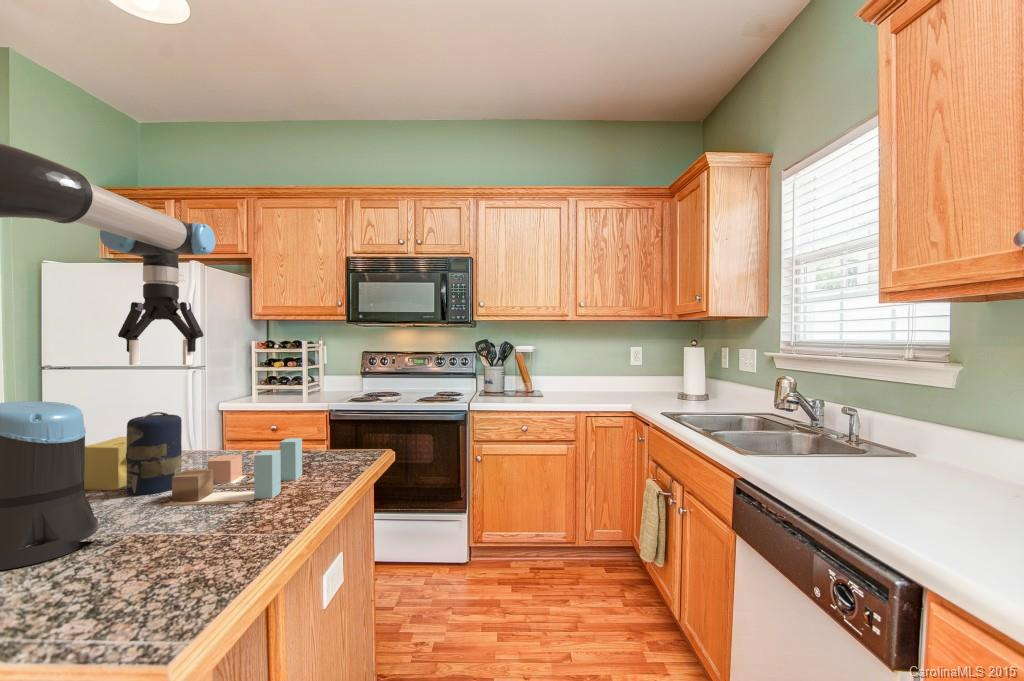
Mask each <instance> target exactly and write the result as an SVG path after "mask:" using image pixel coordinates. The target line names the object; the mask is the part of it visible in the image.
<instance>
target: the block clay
mask: <svg viewBox="0 0 1024 681" xmlns="http://www.w3.org/2000/svg"><path fill="white" fill-rule="evenodd" d="M206 462H207V464H206V466H207V469H213V483H220V484H232V483H231V482H233V481H234V480H236V479H238V478H240V477H241V476H243V475H242V473H243V455H242V454H229V455H227V454H223V455H218V456H215V457H214V458H211V459H209V460H207V461H206Z"/></svg>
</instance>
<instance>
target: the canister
mask: <svg viewBox="0 0 1024 681" xmlns="http://www.w3.org/2000/svg"><path fill="white" fill-rule="evenodd" d="M182 420H183V419H182V417H181V416H180V415H177V414H169V413H167V412H164V411H163V412H162V411H161V412H160V411H155V412H154V411H153V412H151V413H149V414H147V415H144V416H137V417H134V418H131V419H130V420H128V422H127V423H126V437H127V451H126V459H127V471H126V472H127V485H126V494H127V495H129V496H134V497H135V496H136V497H139V496H150V495H157V494H161V493H166V492H170V491H172V477H173V476H175V475H177V474H180V473H182V458H183V456H182V455H183V454H182V450H183V448H182V447H183V446H182V432H183V431H182V428H183V427H182V426H183V425H182V423H183V422H182Z"/></svg>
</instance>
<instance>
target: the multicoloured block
mask: <svg viewBox="0 0 1024 681" xmlns="http://www.w3.org/2000/svg"><path fill="white" fill-rule="evenodd" d="M253 460H254V461H253V462H254V463H253V464H254V465H253V473H254V475H253V476H254V477H253V478H254V483H253V485H254V488H253V489H254V490H253V491H223V492H221V491H220V492H213V493H212V494H210V495H209V496H207V497H205V498H203V499H202V500H200V501H192V502H215V501H240V502H242V501H253V500H268V499H269V500H271V499H274V498H275V497H276V496H277V495H279V494H280V493H281V491H282V490H281V488H282V487H281V486H282V484H281V483H282V481H281V450H280V449H277V450H275V449H274V450H271V449H270V450H269V449H268V450H261V451H260V452H258V453H256V454H254V456H253ZM168 503H182V502H172V500H171V501H169V502H168Z"/></svg>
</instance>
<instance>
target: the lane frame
mask: <svg viewBox="0 0 1024 681" xmlns="http://www.w3.org/2000/svg"><path fill="white" fill-rule="evenodd" d="M242 476H254V472H242ZM251 488H253V489H254V484H250V485H249V484H247V485H245V484H243V485H215V486H214V485H213V490H217V489H218V490H221V489H251ZM239 503H241V501H215V502H182V503H169V502H165V503H162V507H176V506H177V507H178V506H181V507H182V506H207V505H209V506H210V505H238V504H239Z"/></svg>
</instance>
